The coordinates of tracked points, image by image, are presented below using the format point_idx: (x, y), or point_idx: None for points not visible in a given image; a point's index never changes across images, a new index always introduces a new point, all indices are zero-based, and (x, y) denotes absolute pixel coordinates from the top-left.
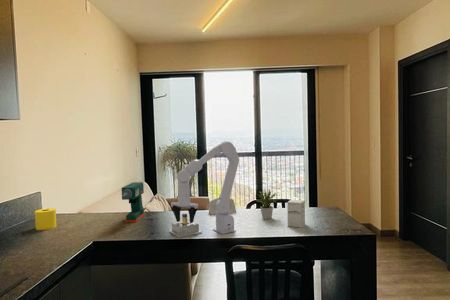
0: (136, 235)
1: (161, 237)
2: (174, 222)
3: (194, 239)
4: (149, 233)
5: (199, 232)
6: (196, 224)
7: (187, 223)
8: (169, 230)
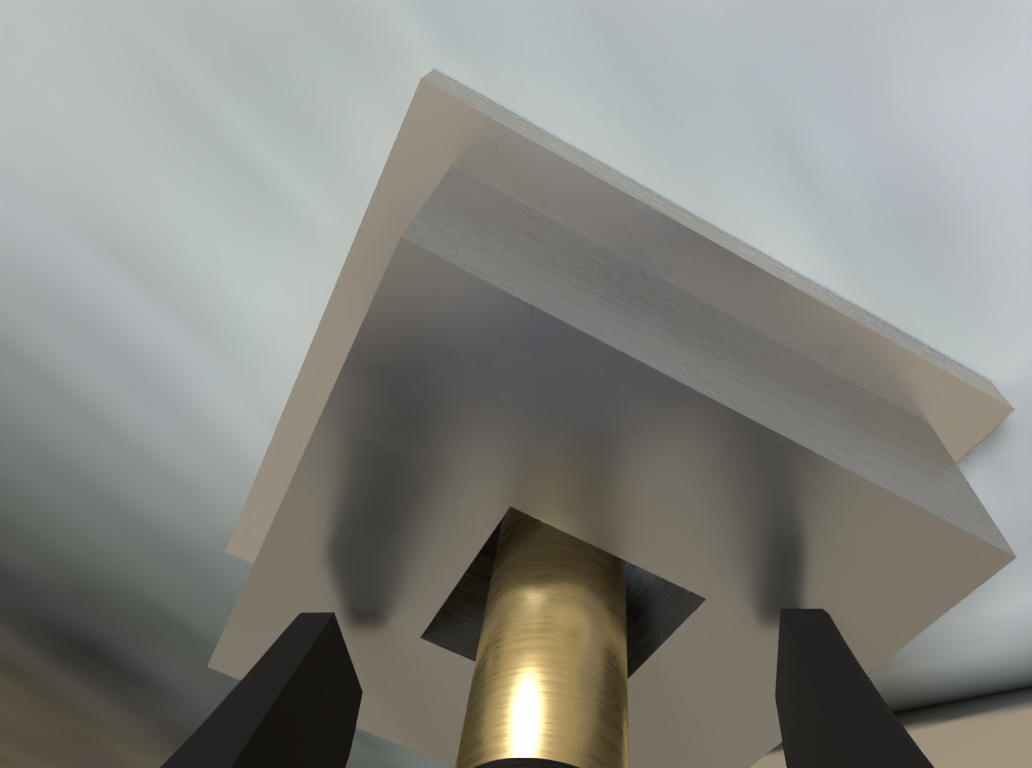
0: (23, 764)
1: (393, 750)
2: (228, 623)
3: (989, 706)
4: (62, 669)
5: (957, 443)
6: (953, 598)
7: (617, 592)
8: (239, 546)
